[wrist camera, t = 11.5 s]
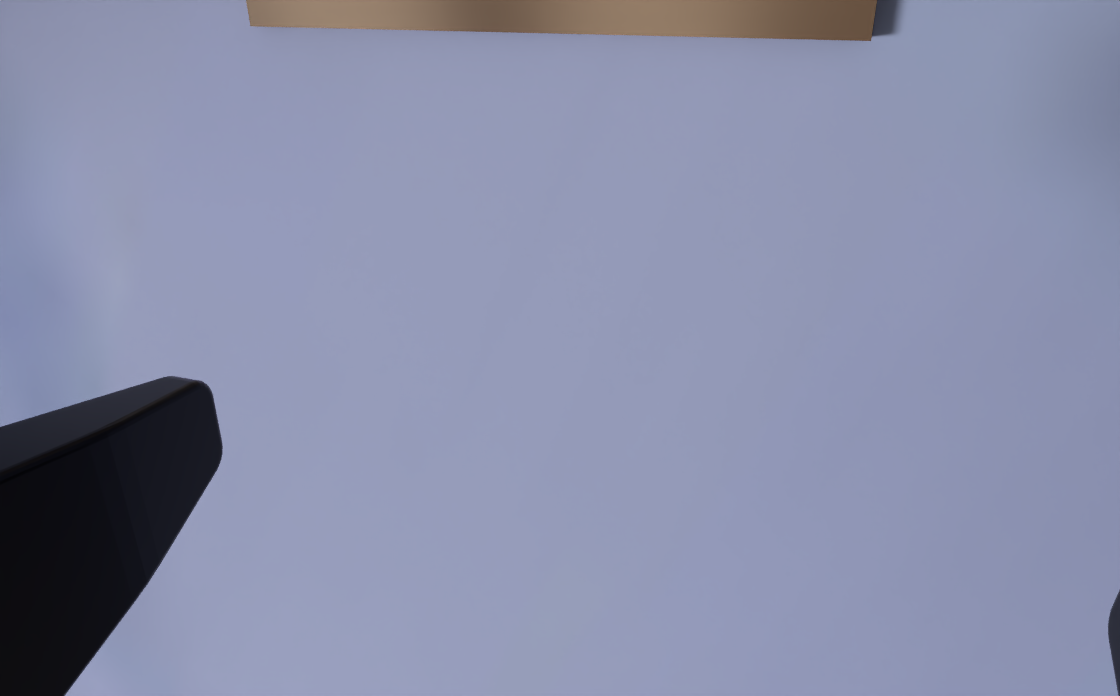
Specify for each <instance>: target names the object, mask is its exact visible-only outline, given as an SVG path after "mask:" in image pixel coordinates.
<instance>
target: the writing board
mask: <svg viewBox="0 0 1120 696" xmlns="http://www.w3.org/2000/svg"><path fill="white" fill-rule="evenodd" d="M246 2H247V8H248V14H249V20H250V26H263V27H305V28H348V29H391V30H433V31H476V32H518V33H561V34H603V35H646V36H689V37H731V38H774V39H816V40H859V41H871V37H872V31H873V24H874V17H875V11H876V4H877V0H246Z"/></svg>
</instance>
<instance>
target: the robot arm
mask: <svg viewBox="0 0 1120 696" xmlns="http://www.w3.org/2000/svg"><path fill="white" fill-rule="evenodd" d="M222 447H223V446H222V440H221V434H220V429H219V424H218V419H217V414H216V409H215V404H214V398H213V394H212V391H211V389H210V388H209V386H208V385H207V384H205V383H204V382H202V381H199V380H193V379H187V378H181V377H175V376H168V377H163V378H160V379H157V380H153V381H150V382H147V383H143V384H140V385H137V386H134V387H130V388H127V389H124V390H120V391H117V392H114V393H111V394H107V395H104V396H101V397H97V398H94V399H91V400H87V401H84V402H81V403H78V404H74V405H71V406H68V407H64V408H61V409H58V410H55V411H51V412H48V413H45V414H41V415H38V416H35V417H32V418H28V419H25V420H22V421H18V422H15V423H12V424H9V425H5V426H2V427H0V696H65V695H66V693H67V692H68V691H69V689H70V688H71V686H72V685H73V684H74V682H75V681H76V680H77V678H78V677H79V676H80V674H81V673H82V672H83V670H84V669H85V668H86V666H87V665H88V664H89V662H90V661H91V660H92V658H93V657H94V656H95V654H96V653H97V652H98V650H99V649H100V648H101V646H102V645H103V644H104V642H105V641H106V640H107V638H108V637H109V636H110V634H111V633H112V632H113V630H114V629H115V628H116V626H117V625H118V624H119V622H120V621H121V620H122V618H123V617H124V616H125V614H126V613H127V612H128V610H129V609H130V608H131V606H132V605H133V604H134V602H135V601H136V599H137V598H138V597H139V595H140V594H141V592H142V591H143V590H144V588H145V587H146V585H147V584H148V582H149V581H150V579H151V578H152V576H153V575H154V573H155V571H156V570H157V568H158V567H159V565H160V564H161V562H162V560H163V559H164V557H165V555H166V554H167V552H168V550H169V549H170V547H171V545H172V544H173V542H174V540H175V539H176V537H177V535H178V534H179V532H180V530H181V529H182V527H183V525H184V524H185V522H186V521H187V519H188V517H189V516H190V514H191V512H192V511H193V509H194V507H195V506H196V504H197V502H198V501H199V499H200V497H201V496H202V494H203V492H204V491H205V489H206V487H207V486H208V484H209V482H210V481H211V479H212V477H213V476H214V474H215V472H216V471H217V469H218V467H219V464H220V461H221V457H222ZM1108 636H1109V643H1110V649H1111V655H1112V660H1113V666H1114V672H1115V678H1116V684H1117V690H1118V695H1119V696H1120V591H1119V593H1118V595H1117V597H1116V600H1115V602H1114V604H1113V606H1112V609H1111V612H1110V616H1109V623H1108Z"/></svg>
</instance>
